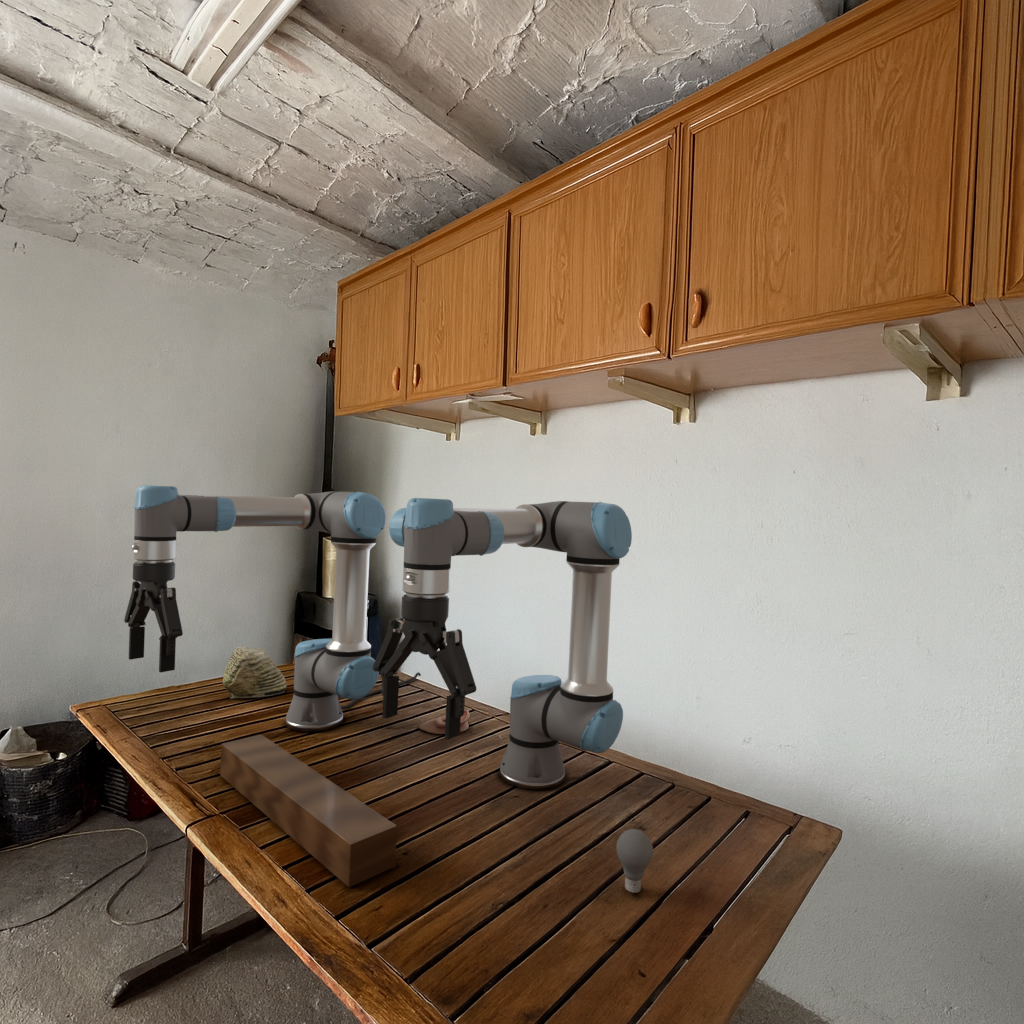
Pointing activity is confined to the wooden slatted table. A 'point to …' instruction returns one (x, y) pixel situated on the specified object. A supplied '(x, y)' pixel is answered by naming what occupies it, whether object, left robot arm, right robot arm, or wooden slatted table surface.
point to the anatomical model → (439, 724)
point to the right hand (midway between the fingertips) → (419, 726)
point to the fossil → (252, 674)
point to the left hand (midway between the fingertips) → (151, 664)
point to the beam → (311, 809)
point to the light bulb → (634, 857)
